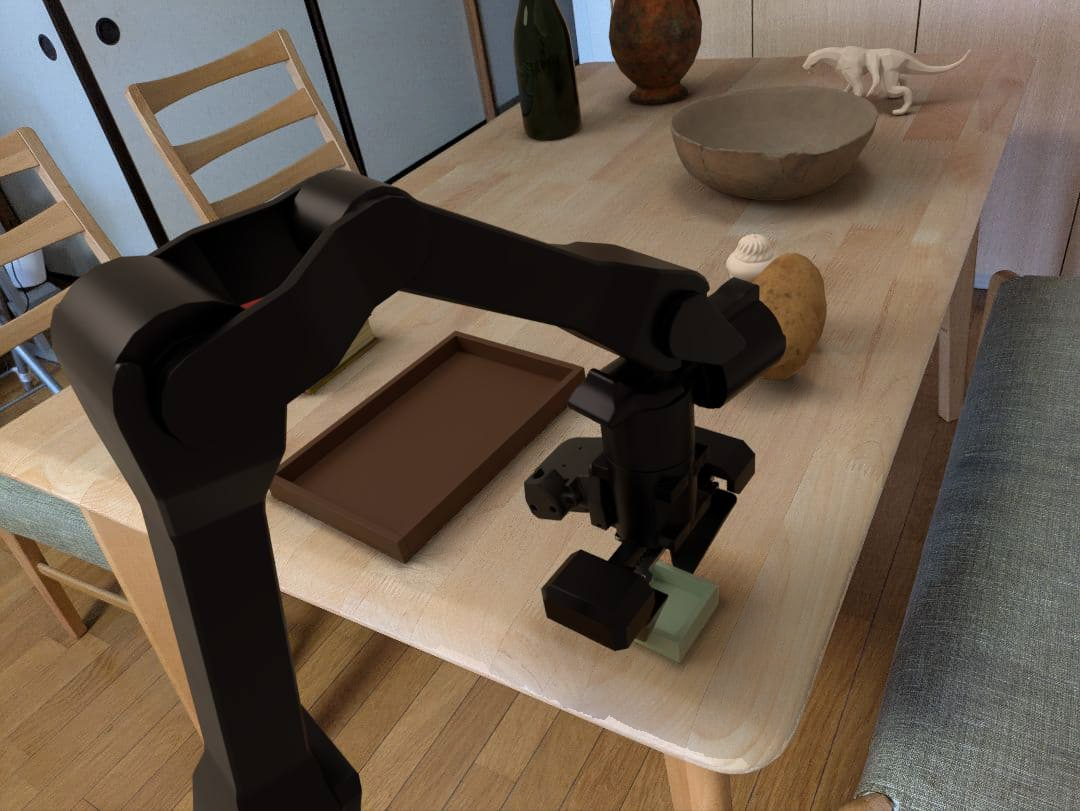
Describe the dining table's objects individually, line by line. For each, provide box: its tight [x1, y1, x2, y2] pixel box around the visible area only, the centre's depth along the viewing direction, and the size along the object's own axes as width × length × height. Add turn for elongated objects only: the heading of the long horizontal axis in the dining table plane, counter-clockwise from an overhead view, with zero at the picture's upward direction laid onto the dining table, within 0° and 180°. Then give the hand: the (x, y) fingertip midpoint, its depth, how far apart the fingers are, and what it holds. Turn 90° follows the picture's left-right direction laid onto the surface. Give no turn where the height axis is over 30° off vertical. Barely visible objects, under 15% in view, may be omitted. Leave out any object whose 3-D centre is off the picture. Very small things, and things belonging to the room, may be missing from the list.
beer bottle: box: [512, 0, 582, 141], centre depth 141 cm, size 10×10×33 cm
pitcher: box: [608, 0, 703, 106], centre depth 149 cm, size 17×21×30 cm
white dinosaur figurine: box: [802, 45, 972, 116], centre depth 135 cm, size 12×25×10 cm, turn 76°
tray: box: [268, 330, 587, 564], centre depth 82 cm, size 28×18×2 cm, turn 144°
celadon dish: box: [633, 559, 720, 664], centre depth 61 cm, size 6×6×2 cm
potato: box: [752, 252, 828, 380], centre depth 83 cm, size 9×16×9 cm, turn 149°
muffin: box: [725, 233, 781, 283], centre depth 95 cm, size 6×6×7 cm
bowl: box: [669, 85, 879, 201], centre depth 118 cm, size 28×28×10 cm
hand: (662, 607), depth 61 cm, fingers closed on celadon dish, 6 cm apart
